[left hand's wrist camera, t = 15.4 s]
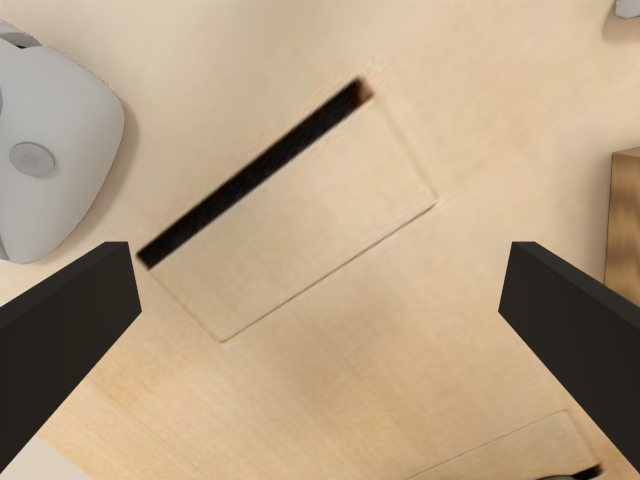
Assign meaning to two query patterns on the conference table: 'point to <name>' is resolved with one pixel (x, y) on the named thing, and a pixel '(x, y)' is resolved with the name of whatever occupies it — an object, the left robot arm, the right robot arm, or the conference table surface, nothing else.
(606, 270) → the bar
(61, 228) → the projector
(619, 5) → the fish
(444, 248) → the conference table surface
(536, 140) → the conference table surface
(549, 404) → the conference table surface
